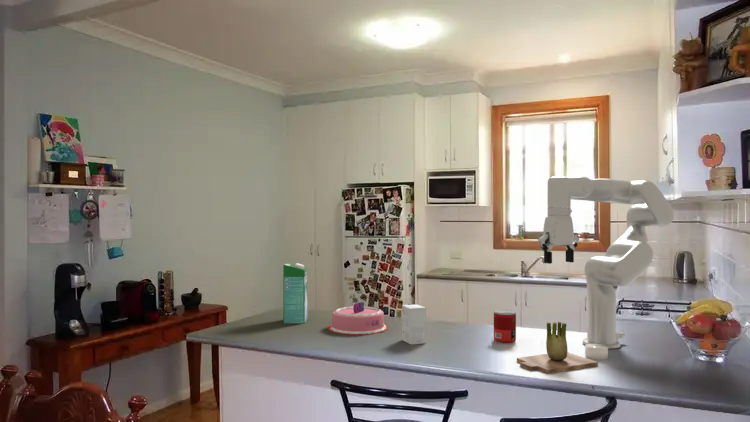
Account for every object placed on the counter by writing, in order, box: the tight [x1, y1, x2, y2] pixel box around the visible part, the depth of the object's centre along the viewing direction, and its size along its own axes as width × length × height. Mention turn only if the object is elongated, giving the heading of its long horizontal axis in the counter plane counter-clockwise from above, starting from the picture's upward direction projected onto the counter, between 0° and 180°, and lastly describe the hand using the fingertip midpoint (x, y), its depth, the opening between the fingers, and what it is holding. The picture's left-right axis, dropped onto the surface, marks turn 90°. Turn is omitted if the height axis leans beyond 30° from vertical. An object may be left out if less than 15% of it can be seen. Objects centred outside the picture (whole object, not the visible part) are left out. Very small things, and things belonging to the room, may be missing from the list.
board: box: [516, 352, 599, 375], centre depth 172 cm, size 22×14×1 cm, turn 115°
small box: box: [401, 303, 427, 345], centre depth 202 cm, size 8×6×13 cm
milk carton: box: [282, 262, 308, 324], centre depth 238 cm, size 9×9×25 cm
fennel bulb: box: [545, 321, 569, 361], centre depth 173 cm, size 6×5×12 cm
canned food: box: [493, 309, 517, 344], centre depth 203 cm, size 8×8×11 cm
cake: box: [327, 301, 390, 336], centre depth 225 cm, size 25×25×11 cm
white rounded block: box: [584, 344, 609, 361], centre depth 181 cm, size 7×7×4 cm
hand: (558, 262), depth 189 cm, fingers open, 9 cm apart
